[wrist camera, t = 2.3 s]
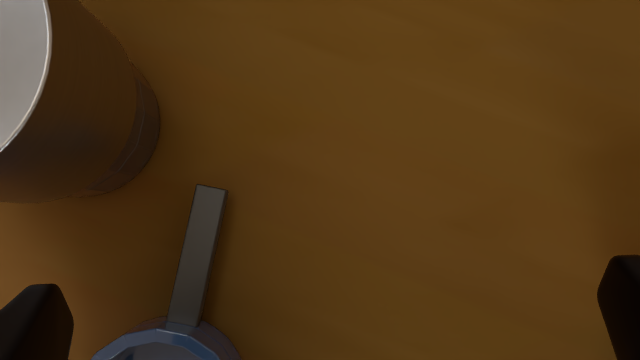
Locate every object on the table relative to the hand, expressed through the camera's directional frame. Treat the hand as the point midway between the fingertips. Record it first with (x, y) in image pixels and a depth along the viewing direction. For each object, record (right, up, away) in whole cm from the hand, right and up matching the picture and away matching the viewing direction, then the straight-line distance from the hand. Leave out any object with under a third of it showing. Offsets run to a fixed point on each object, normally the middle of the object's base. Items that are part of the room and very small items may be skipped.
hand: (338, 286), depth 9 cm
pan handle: (-5, -1, +14) cm, 15 cm away
